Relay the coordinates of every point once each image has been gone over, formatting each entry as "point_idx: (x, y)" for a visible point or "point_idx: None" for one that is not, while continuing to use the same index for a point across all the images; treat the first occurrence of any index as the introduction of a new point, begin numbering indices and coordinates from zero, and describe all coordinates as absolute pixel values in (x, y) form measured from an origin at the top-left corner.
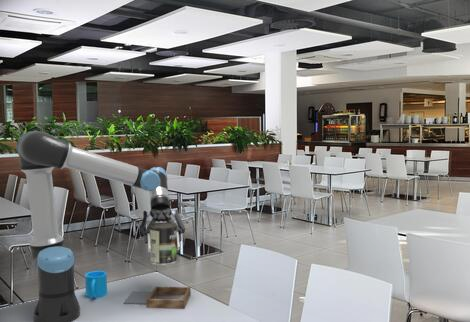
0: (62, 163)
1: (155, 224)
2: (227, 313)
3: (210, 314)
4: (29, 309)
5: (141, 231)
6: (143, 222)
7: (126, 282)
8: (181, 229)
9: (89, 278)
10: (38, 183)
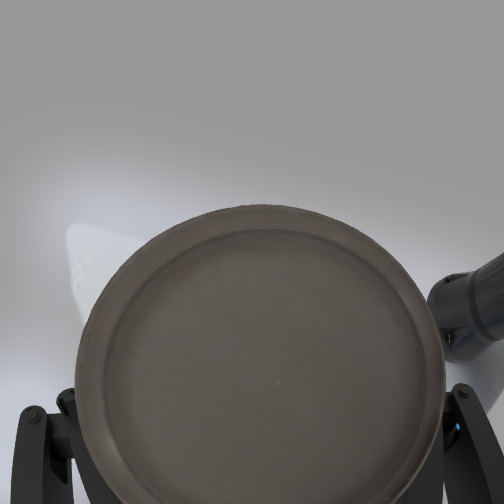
0: None
1: (381, 473)
2: (88, 247)
3: (124, 252)
4: (494, 358)
5: (459, 389)
6: (494, 460)
7: None
8: (56, 432)
9: (456, 425)
10: None
